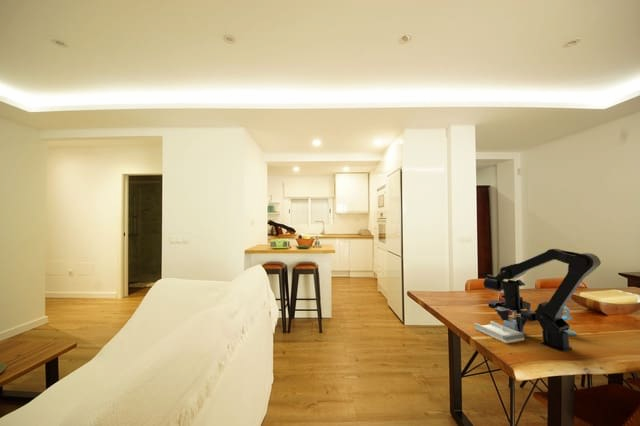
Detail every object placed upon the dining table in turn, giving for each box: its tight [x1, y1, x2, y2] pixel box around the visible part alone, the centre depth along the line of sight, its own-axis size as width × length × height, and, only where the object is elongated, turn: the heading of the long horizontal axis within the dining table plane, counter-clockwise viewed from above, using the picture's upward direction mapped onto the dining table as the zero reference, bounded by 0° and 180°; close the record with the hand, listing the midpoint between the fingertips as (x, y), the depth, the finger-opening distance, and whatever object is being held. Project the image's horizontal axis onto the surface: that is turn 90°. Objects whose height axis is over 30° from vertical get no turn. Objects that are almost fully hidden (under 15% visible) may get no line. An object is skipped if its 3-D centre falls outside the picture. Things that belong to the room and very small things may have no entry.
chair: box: [562, 305, 577, 336], centre depth 104 cm, size 8×8×12 cm
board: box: [474, 320, 525, 344], centre depth 101 cm, size 14×10×2 cm
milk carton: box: [496, 279, 523, 319], centre depth 125 cm, size 9×9×20 cm
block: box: [502, 318, 525, 335], centre depth 104 cm, size 5×5×4 cm
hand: (513, 329), depth 104 cm, fingers closed on block, 5 cm apart
